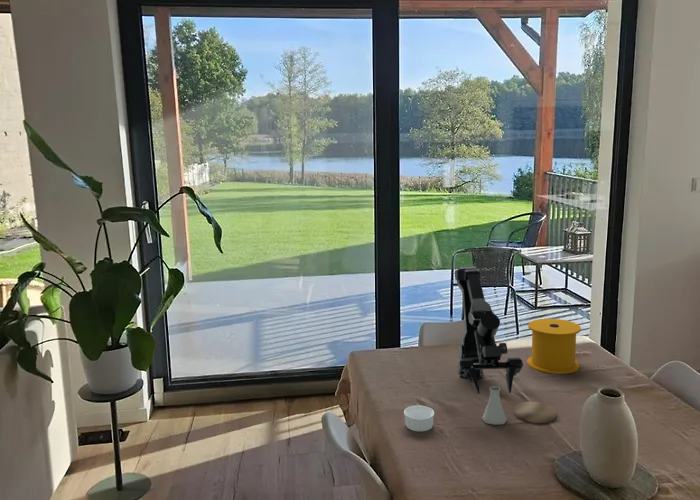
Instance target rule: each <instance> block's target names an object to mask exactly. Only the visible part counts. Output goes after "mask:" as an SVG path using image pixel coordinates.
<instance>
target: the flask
mask: <svg viewBox="0 0 700 500" xmlns="http://www.w3.org/2000/svg"><path fill="white" fill-rule="evenodd" d="M488 389H489V397H488V398H489V399H488V402H487V404H486V407H485V410H484V412H483V414H482V417H481V419H482V421H483V422H484V423H485V424H489V425H493V426H496V425H497V426H498V425H505V424H506V422H507V421H508V420H507V416H506V413H505V411H504V408H503V405H502V402H501V396H500V391H501V388H500V387H499V386H495V385H494V386H489V388H488Z"/></svg>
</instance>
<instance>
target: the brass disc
mask: <svg viewBox="0 0 700 500" xmlns="http://www.w3.org/2000/svg"><path fill="white" fill-rule="evenodd" d="M513 414H514V416H515V417H516V418H518V419H520V420H521V421H523V422H527V423H532V424H548V423H551V422H553V421H555V420H556V418H557V411H556V409H555V408H554V407H553V406H551V405H549V404H547V403H543V402H538V401H523V402H522V401H521V402H519V403H517V404H515V406H514V407H513Z"/></svg>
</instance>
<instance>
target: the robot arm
mask: <svg viewBox="0 0 700 500" xmlns="http://www.w3.org/2000/svg"><path fill="white" fill-rule="evenodd" d="M454 280H455V281H456V286H457V287H458V288H459V289H460V291H461V294H462V307H463V308H462V309H463V319H464V321H463V322H464V334H463V336H462V337H461V341H460V342H461V343H460V344H459V348H458V351H457V352H458V359H459V362H458V365H457V374H458V375H459V378H465V379H467V381H469V382H470V383H469V384H471V385H472V387H473V389H474V390H475V392H476V395H480V387H479V382H478V380H479V379H480V378H481V377H482V376H483V375H484V370H501V369H502V370H505V371H506V374H505V378H506V386H507V391H508V394H511V392H512V388H513V382H514V376H517V374H519V373H521V370H522V368H523V367H524V362H523V360H522V359H521V358H520V357H508V358H507V360H506V361H501V359H502V358H501V357H502V355H506V354H508V344H507V343H506V342H500V343H498V345H497V343H496V340H495V336H496V335H497V332H498V331H499V327H500V324H501V320H500V318H499V316H498V315H496V314H495V312H494V311H493V309H492V307H491V304H489V303H488V302H487V301H486V299H485V295H484V290H483V287H482V283H481V280H482V271H481V269H479V268H477V267H476V266H475V265H474V266H473V265H472V266H470V265H469V266H468V265H467V266H458V267H457V269H454ZM500 361H501V362H500Z"/></svg>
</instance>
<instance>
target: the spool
mask: <svg viewBox="0 0 700 500" xmlns="http://www.w3.org/2000/svg"><path fill="white" fill-rule="evenodd" d="M527 327H528V329H529V330H530V331H531V332H532V336H531V356H530V357H528V358H527V361H526V362H527V365H528V367H530V368H531V369H533V370H535V371H539V372H542V373H546V374H554V375H563V374H571V373H575V372H577V371H578V370H579V368H580V363H579V362H578V361H577V360H576V350H577V334H579V333H581V332H582V326H580V325H579V324H578V323H576V322H573V321H571V320H566V319H559V318H539V319H534V320H531V321H530V322H528V325H527Z"/></svg>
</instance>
